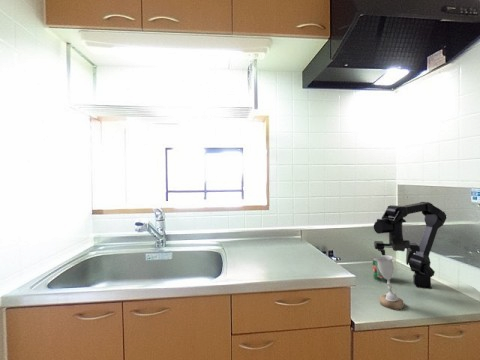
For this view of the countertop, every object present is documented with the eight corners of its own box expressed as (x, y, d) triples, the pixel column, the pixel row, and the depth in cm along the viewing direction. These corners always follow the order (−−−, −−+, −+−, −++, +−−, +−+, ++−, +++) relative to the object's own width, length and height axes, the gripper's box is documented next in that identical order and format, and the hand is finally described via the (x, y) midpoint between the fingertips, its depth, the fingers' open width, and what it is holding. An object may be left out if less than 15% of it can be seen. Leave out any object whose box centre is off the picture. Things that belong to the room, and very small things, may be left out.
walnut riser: (400, 301, 119) (400, 296, 119) (405, 311, 111) (405, 306, 111) (378, 299, 122) (378, 293, 122) (381, 308, 114) (381, 303, 114)
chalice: (397, 303, 111) (389, 261, 112) (380, 300, 116) (372, 259, 117) (403, 296, 116) (395, 255, 117) (386, 293, 121) (379, 254, 122)
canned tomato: (392, 282, 139) (392, 261, 138) (377, 282, 139) (377, 261, 138) (384, 276, 147) (384, 256, 146) (370, 276, 147) (370, 257, 146)
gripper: (376, 234, 125) (377, 267, 125) (423, 236, 118) (423, 271, 119) (373, 229, 135) (374, 260, 135) (416, 231, 129) (416, 263, 129)
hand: (396, 263), depth 129 cm, fingers open, 9 cm apart
